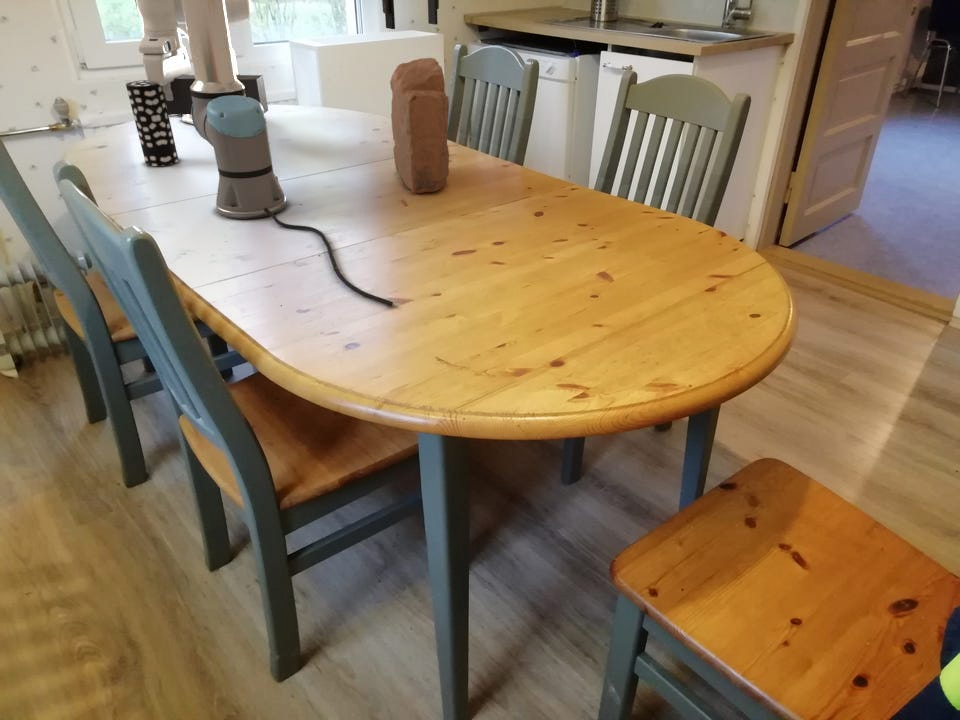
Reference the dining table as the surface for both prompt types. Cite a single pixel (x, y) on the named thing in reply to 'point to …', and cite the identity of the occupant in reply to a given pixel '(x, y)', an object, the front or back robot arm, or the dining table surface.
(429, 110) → the stone
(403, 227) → the dining table surface
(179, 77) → the bar
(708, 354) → the dining table surface
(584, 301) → the dining table surface
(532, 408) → the dining table surface
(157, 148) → the black white spotted cylinder
